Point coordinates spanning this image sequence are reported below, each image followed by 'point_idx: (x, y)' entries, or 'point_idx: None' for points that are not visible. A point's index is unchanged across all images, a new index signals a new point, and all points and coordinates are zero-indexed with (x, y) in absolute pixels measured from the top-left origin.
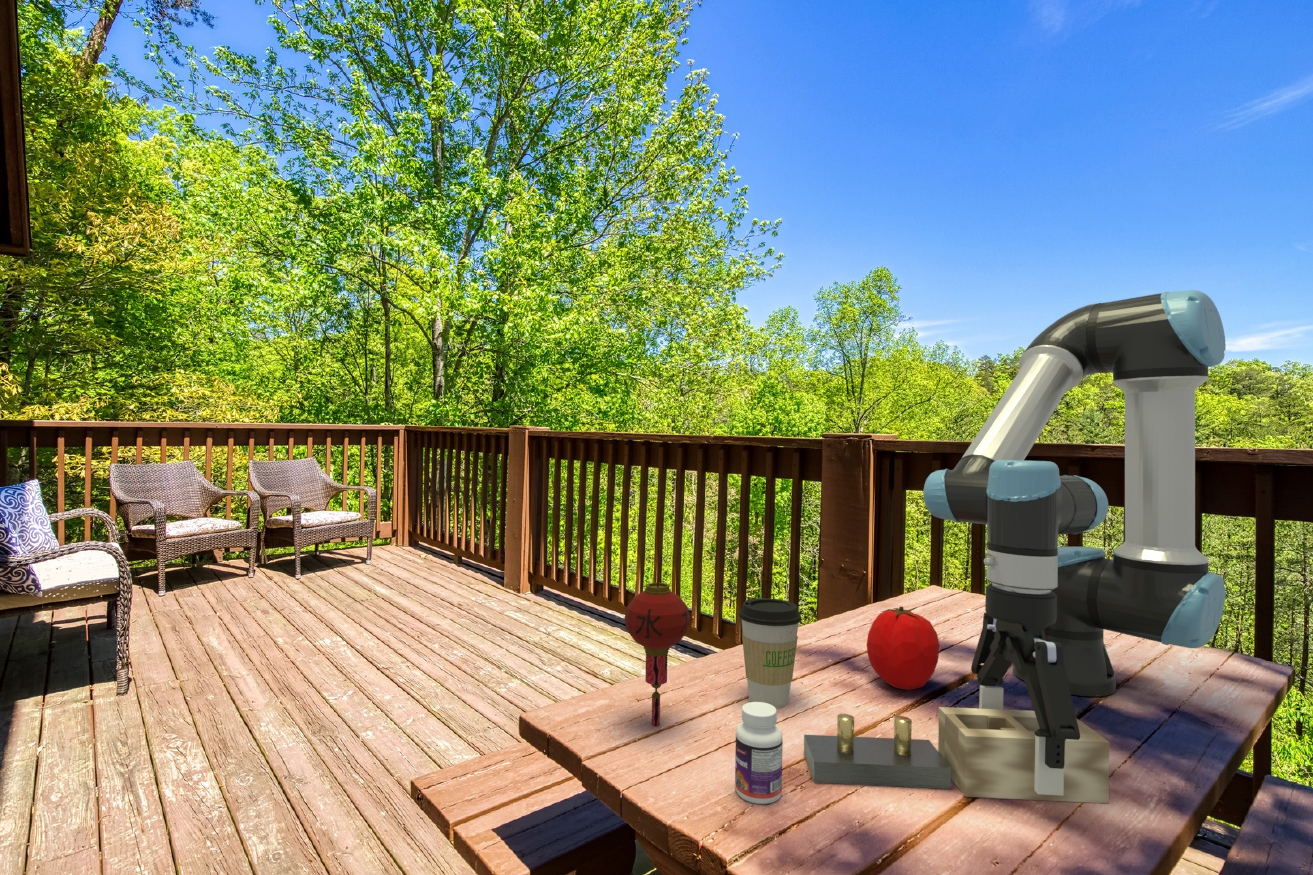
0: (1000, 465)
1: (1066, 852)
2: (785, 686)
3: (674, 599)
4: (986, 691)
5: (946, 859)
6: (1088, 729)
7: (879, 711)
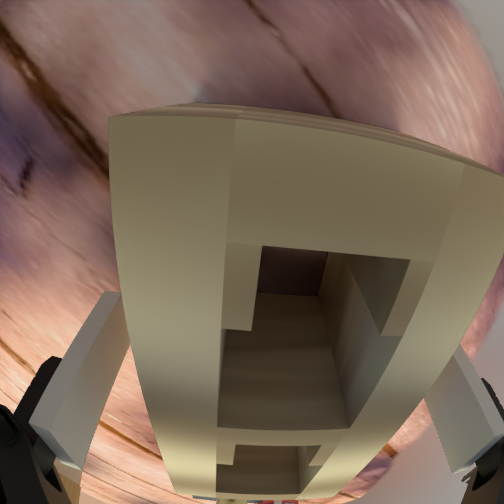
0: None
1: (473, 329)
2: (64, 472)
3: None
4: (81, 452)
5: (418, 431)
6: (409, 171)
7: (22, 374)
